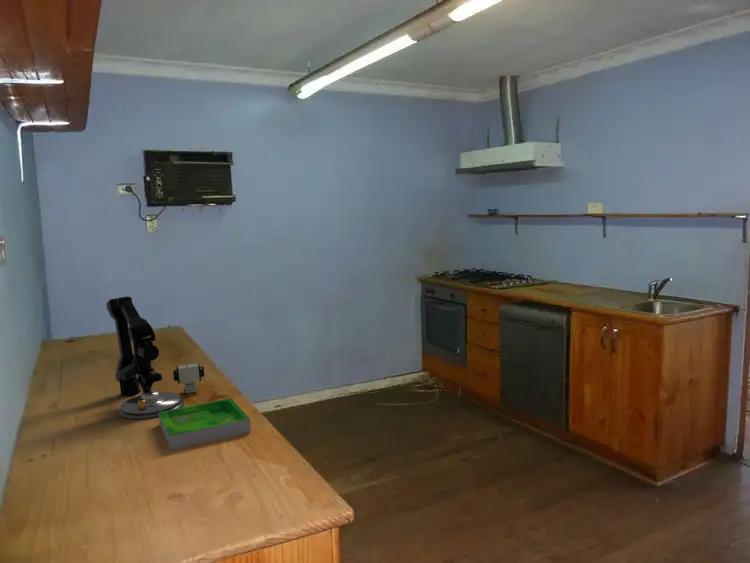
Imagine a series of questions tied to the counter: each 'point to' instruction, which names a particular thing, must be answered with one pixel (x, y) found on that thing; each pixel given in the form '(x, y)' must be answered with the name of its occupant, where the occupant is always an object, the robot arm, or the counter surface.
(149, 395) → the cover
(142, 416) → the turntable base
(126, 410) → the turntable
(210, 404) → the tray
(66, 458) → the counter surface
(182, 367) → the pneumatic valve
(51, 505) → the counter surface
